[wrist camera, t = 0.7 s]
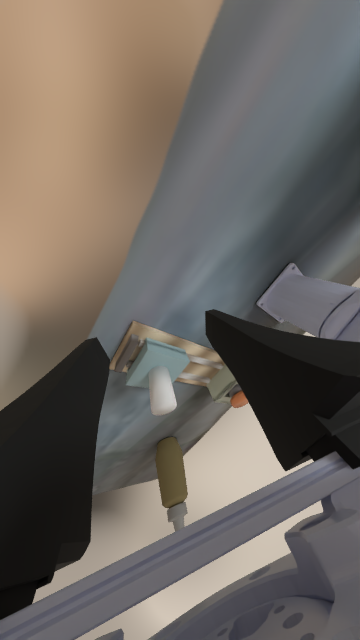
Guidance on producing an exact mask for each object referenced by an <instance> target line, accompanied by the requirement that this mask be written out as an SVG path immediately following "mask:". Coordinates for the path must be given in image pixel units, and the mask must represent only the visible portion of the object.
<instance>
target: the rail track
mask: <svg viewBox="0 0 360 640" xmlns="http://www.w3.org/2000/svg"><path fill="white" fill-rule="evenodd" d="M146 337H147V338H150V339H153V340H157V341H160V342H163V343H166V344H169V345H172V346H175V347H178V348H181V349H184V350H185V351H186V353H187V356H188V358H189V360H190V362H189V364H188V365H187V366H186V367H185V369H184V370H183V371H182V372H181V374H180V375H179V376H178V377H177V379H176V380H175V381H179V382H185V383H190V384H196V385H201V386H207V383H209V382H210V380H211V379H212V378H213V377H214V376H215V375H216V374H217V372H218V371H219V370H220V369H222V368H223V366H224V365H225V363H224V362H223V360H222V359H221V358H220V356H219V355H218V354H217V352H216V351H215V350H212V349H209V348H207V347H204V346H201V345H198V344H196V343H193V342H190V341H187V340H185V339H182V338H179V337H177V336H174V335H171V334H168V333H166V332H163V331H160V330H158V329H155V328H152V327H149V326H147V325H144V324H141V323H138V322H136V321H133V322H132V323H131V325H130V327H129V329H128V331H127V333H126V335H125V337H124V338H123V340H122V342H121V344H120V346H119V348H118V350H117V352H116V353H115V355H114V357H113V359H112V361H111V363H110V366H109V369H112V370H114V371H115V372H122V371H123V372H127V369H128V368H130V367H131V366H132V364H133V362H134V361H135V359H136V357H137V356H138V354H139V352H140V351H141V349H142V348H143V346H144V344H145V339H146Z"/></svg>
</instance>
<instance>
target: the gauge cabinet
mask: <svg viewBox="0 0 360 640" xmlns="http://www.w3.org/2000/svg"><path fill="white" fill-rule="evenodd" d="M236 384H238V383H237V381H236V379H235V378H234V376H233V374H232V373H231V371H230V370H229V369H228V367H227V366H226V364H225V365H224V366H223V368H222V369H220V370H219V371H218V372H217V374H216V375H215V376H214V377H213V378H212V379H211V380H210V382H209V383H207V387H208V389H209V391H210V394H211V396H212V398H213V400H214V402H218V403H227V404H231V403H230V400H231V397H230V395H229V393H228V392H229V391H230V390H231V389H232V388H233V387H234V386H235V385H236Z"/></svg>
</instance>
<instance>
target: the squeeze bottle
mask: <svg viewBox="0 0 360 640" xmlns="http://www.w3.org/2000/svg"><path fill="white" fill-rule="evenodd" d="M155 461H156V468H157V474H158V480H159V487H160V492H161V499H162V505H163V506H164V507H165V508H169V509H168V510H167V515H168V522H173V525H174V529H175V532H176V531H178V530H180V529H182V528H184V515H186V514H187V508H186V503H185V502H184V500H185V499H186V498H187V495H188V493H187V485H186V478H185V470H184V463H183V455H182V450H181V448H180V446H179V444H178V442H177V440H176V438H175V437H169V438H165V439H163V440H161V441H160V442H159V443H158V446H157V453H156V460H155Z"/></svg>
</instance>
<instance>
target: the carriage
mask: <svg viewBox="0 0 360 640" xmlns="http://www.w3.org/2000/svg"><path fill="white" fill-rule="evenodd" d="M189 362H190V360H189V358H188V356H187V353H186V351H185V350H184V349H181V348H178V347H175V346H172V345H169V344H166V343H163V342H160V341H157V340H153V339H150V338H147V337H146V339H145V344H144V346H143V348H142V349H141V351H140V352H139V354H138V356H137V357H136V359H135V361H134V362H133V364H132V366H131V367H130V368H128V369H127V375H126V385H128V386H136V387H143V388H150V401H151V412H152V413H153V414H154V415H164V414H167V413H170V412H171V411H173V410H174V409H175V408H176V406H177V403H176V399H175V395H174V391H173V386H172V384H173V383H174V381H175V380H176V379H177V377H178V376H179V375H180V374H181V372H182V371H183V370H184V369H185V367H186V366H187V365H188V364H189Z"/></svg>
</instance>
